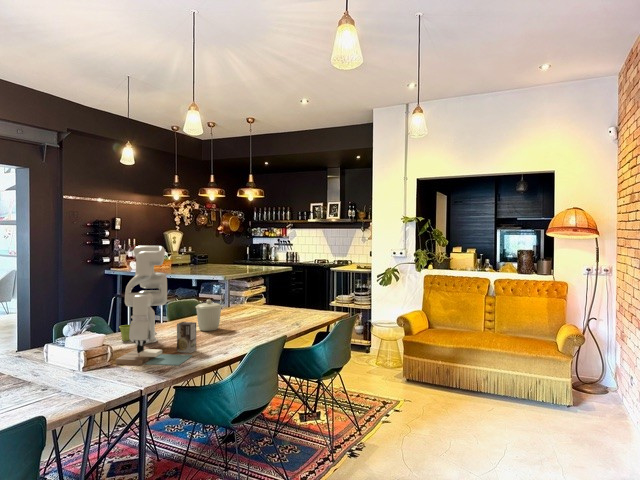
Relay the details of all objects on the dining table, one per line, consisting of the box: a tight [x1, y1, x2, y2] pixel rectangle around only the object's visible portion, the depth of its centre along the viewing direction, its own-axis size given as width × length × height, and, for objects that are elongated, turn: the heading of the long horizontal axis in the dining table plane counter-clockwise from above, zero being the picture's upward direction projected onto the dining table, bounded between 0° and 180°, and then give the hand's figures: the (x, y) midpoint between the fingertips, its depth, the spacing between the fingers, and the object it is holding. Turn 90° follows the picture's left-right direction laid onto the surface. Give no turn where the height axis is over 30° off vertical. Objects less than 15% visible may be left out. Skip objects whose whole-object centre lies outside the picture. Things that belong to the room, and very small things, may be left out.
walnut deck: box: [115, 348, 155, 366], centre depth 232 cm, size 20×14×2 cm
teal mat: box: [144, 353, 193, 367], centre depth 231 cm, size 18×18×1 cm
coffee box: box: [176, 321, 197, 354], centre depth 248 cm, size 9×6×16 cm
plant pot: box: [118, 324, 130, 342], centre depth 274 cm, size 9×9×9 cm
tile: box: [139, 348, 163, 358], centre depth 231 cm, size 7×9×2 cm
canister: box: [195, 299, 223, 332], centre depth 305 cm, size 18×18×21 cm
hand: (140, 352), depth 232 cm, fingers closed
